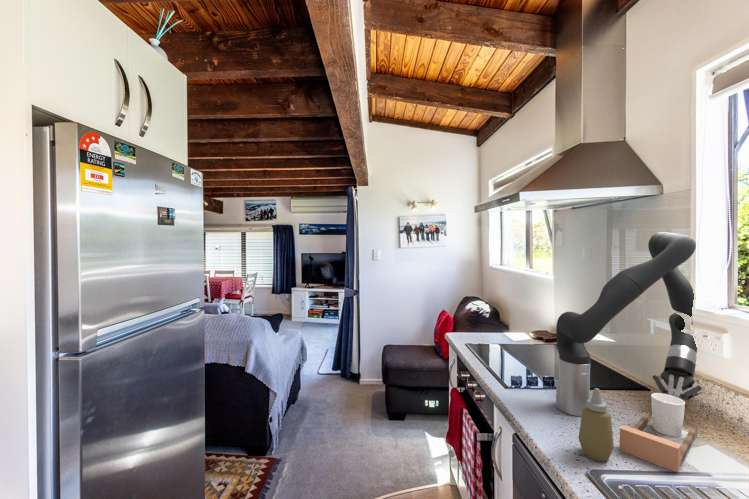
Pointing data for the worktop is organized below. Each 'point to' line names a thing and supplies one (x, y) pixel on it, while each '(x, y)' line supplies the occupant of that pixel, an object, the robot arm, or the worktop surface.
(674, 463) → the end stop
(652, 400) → the white cup
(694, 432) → the rails
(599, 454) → the squeeze bottle
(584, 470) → the worktop surface
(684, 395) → the robot arm
